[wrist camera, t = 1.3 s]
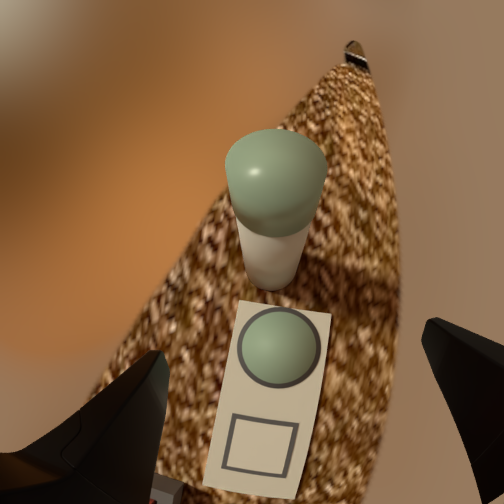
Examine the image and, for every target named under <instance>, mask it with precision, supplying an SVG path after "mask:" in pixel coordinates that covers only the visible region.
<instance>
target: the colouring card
mask: <svg viewBox="0 0 504 504" xmlns="http://www.w3.org/2000/svg"><path fill="white" fill-rule="evenodd" d="M330 322H331V314H327V313H320V312H312V311H305V310H298V309H292V308H286V307H279V306H272V305H266V304H260V303H254V302H248V301H242V300H239V305H238V310H237V315H236V320H235V325H234V330H233V335H232V340H231V345H230V350H229V354H228V359H227V364H226V369H225V374H224V379H223V384H222V389H221V394H220V399H219V404H218V409H217V414H216V419H215V424H214V429H213V434H212V439H211V444H210V449H209V454H208V459H207V464H206V469H205V474H204V479H203V484H202V485H205V486H209V487H213V488H218V489H222V490H227V491H232V492H238V493H243V494H250V495H256V496H264V497H273V498H284V499H295V496H296V493H297V489H298V486H299V482H300V479H301V475H302V471H303V467H304V464H305V460H306V456H307V452H308V448H309V443H310V439H311V435H312V430H313V426H314V421H315V416H316V411H317V406H318V401H319V395H320V390H321V384H322V378H323V372H324V366H325V360H326V353H327V346H328V338H329V331H330Z"/></svg>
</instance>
